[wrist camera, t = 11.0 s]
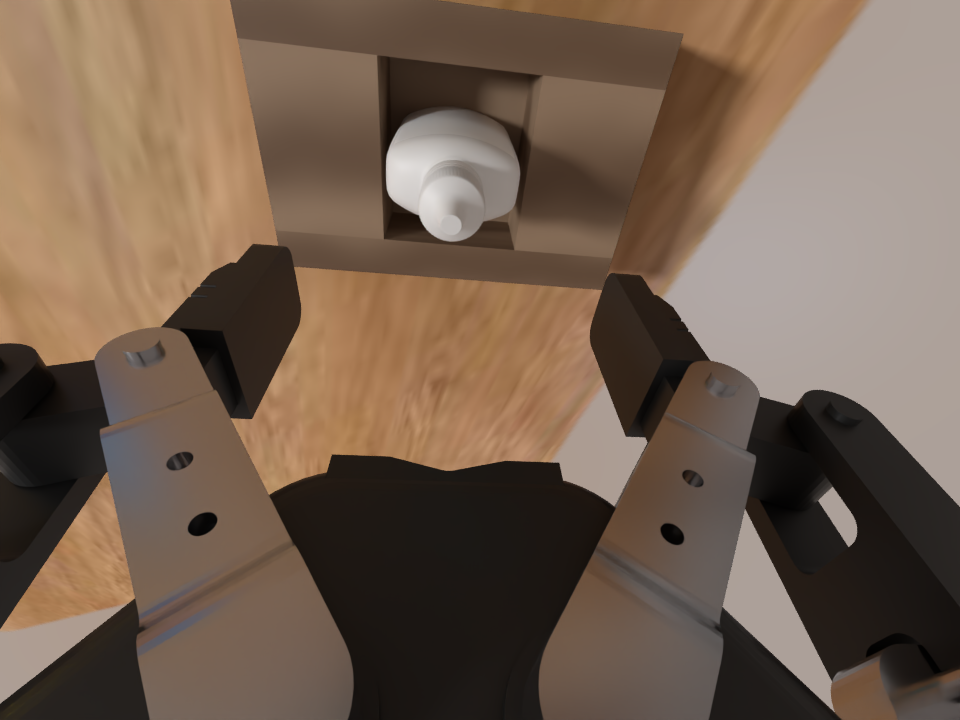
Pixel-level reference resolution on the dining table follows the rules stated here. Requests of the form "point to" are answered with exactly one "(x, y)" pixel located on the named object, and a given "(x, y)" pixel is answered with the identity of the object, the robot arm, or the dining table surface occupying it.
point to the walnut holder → (459, 83)
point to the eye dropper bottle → (452, 170)
